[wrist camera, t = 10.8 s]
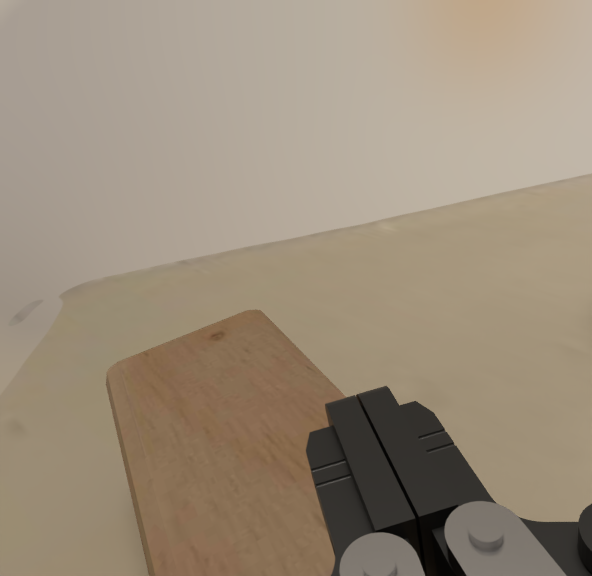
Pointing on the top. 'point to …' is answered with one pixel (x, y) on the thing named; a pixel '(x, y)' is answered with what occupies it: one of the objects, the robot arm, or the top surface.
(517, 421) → the top surface
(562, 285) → the top surface
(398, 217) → the top surface
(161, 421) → the wooden block
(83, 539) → the top surface
